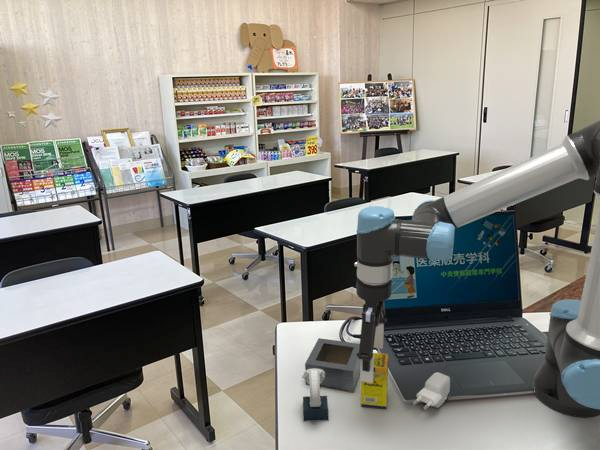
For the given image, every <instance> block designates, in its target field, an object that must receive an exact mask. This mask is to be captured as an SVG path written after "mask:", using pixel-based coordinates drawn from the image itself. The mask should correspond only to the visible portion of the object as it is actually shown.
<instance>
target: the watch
mask: <svg viewBox="0 0 600 450" xmlns="http://www.w3.org/2000/svg"><path fill="white" fill-rule="evenodd" d="M324 378H325V372H324V371H323V370H321V369H308V370H306V371H305V370H304V371H303V373H302V374H301V379H304V381H305V383H306V382H307V383H308V384H309V385H308V386H309V396H308V395H307V396H302V412H303V414H302V415H303V422H313V421H316V422H317V421H329V404H328V395H320V393H321V391H320V388H321V387H320V384H321V383H322V381H323V380H324Z"/></svg>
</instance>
